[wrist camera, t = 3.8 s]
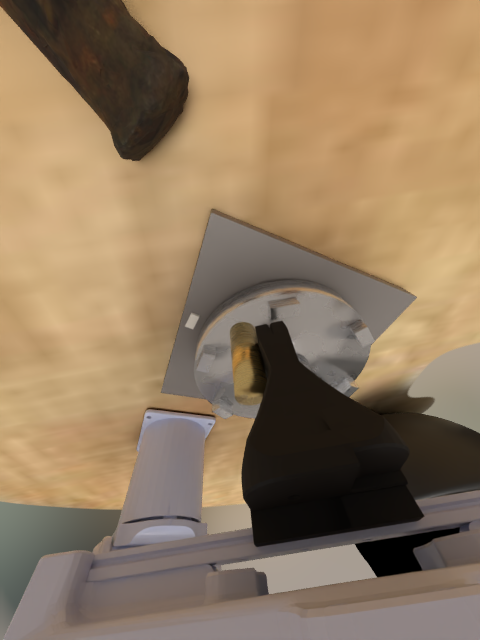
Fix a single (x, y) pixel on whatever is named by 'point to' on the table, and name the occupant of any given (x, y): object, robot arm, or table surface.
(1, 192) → the table surface
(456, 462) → the coal bowl
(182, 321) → the base plate
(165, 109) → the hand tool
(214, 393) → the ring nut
